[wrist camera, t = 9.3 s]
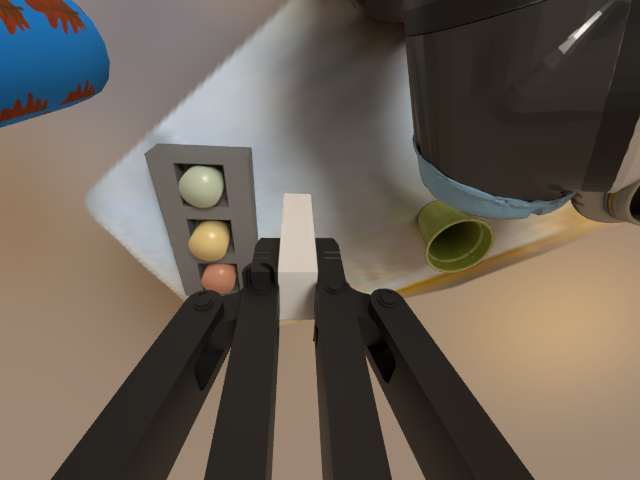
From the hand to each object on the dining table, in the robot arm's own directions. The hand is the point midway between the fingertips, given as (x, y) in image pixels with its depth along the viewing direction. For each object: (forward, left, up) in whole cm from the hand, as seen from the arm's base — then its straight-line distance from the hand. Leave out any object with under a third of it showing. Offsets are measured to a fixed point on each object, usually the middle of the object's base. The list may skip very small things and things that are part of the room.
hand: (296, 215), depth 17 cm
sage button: (+8, -12, -23) cm, 27 cm away
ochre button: (+16, -12, -22) cm, 30 cm away
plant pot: (+14, +23, -25) cm, 36 cm away
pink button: (+24, -12, -23) cm, 35 cm away
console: (+16, -12, -24) cm, 32 cm away
